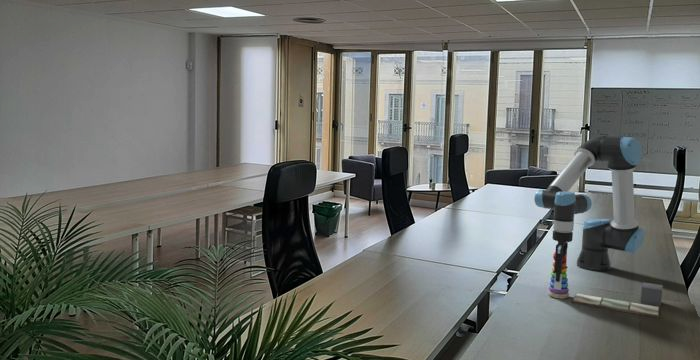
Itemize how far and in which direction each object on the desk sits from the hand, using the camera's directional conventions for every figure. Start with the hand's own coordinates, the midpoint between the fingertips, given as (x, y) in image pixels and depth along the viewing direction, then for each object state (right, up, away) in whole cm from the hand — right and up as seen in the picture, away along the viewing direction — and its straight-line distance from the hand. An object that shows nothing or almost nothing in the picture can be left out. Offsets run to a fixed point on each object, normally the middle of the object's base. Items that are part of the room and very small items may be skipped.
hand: (559, 286), depth 234 cm
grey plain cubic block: (+34, -6, -6) cm, 35 cm away
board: (+18, -6, -10) cm, 21 cm away
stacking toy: (0, -4, +1) cm, 4 cm away
